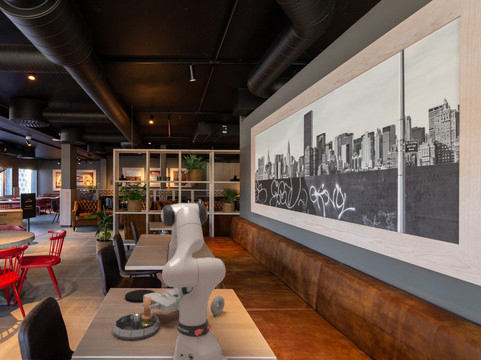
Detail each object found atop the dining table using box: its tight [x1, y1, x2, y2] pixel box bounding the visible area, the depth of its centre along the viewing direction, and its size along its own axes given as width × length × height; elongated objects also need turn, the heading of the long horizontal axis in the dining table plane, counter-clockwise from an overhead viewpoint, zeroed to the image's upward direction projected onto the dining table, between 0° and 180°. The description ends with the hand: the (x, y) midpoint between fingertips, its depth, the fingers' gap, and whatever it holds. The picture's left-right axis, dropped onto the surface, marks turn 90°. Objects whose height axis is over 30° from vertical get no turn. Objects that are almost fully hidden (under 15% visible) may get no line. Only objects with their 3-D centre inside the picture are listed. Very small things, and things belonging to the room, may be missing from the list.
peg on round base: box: [142, 297, 153, 321], centre depth 152 cm, size 5×5×10 cm
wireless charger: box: [124, 289, 157, 304], centre depth 189 cm, size 18×18×2 cm
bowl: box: [112, 311, 160, 342], centre depth 147 cm, size 20×20×8 cm
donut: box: [210, 295, 225, 316], centre depth 168 cm, size 10×4×10 cm, turn 147°
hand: (145, 306), depth 151 cm, fingers closed on peg on round base, 3 cm apart
